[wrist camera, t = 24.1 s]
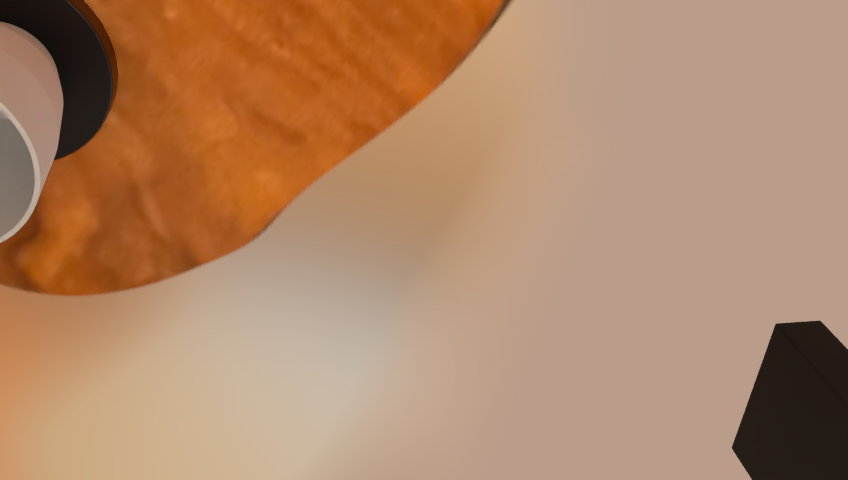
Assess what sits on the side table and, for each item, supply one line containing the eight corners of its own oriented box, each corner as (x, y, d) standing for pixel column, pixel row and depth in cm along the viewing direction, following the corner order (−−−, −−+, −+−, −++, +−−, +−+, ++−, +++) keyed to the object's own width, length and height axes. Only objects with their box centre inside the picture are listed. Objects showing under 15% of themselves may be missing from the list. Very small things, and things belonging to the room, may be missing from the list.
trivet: (149, 26, 39) (145, 36, 38) (75, 182, 43) (69, 195, 41) (-66, -86, 35) (-79, -80, 34) (-127, 97, 39) (-140, 108, 37)
